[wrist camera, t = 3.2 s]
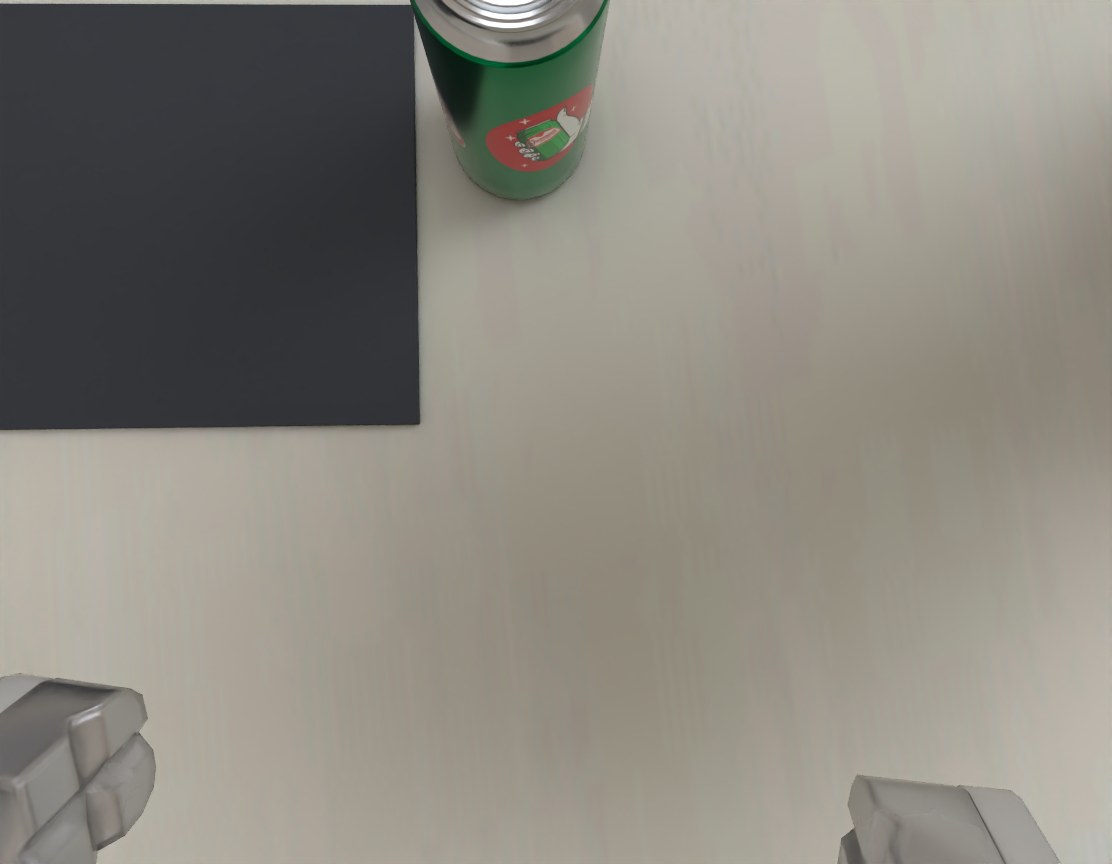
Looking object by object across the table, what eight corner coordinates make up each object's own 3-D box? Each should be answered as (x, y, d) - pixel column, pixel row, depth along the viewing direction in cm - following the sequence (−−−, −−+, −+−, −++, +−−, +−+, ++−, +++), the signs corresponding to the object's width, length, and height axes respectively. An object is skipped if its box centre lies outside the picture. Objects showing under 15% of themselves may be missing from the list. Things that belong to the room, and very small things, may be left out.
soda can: (467, 61, 28) (418, -205, 16) (596, 88, 28) (640, -156, 17) (442, 189, 28) (373, 17, 16) (570, 216, 29) (595, 65, 17)
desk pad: (413, 9, 28) (412, 4, 28) (419, 424, 28) (418, 424, 28) (-119, 7, 28) (-127, 3, 27) (-110, 431, 28) (-117, 431, 28)
